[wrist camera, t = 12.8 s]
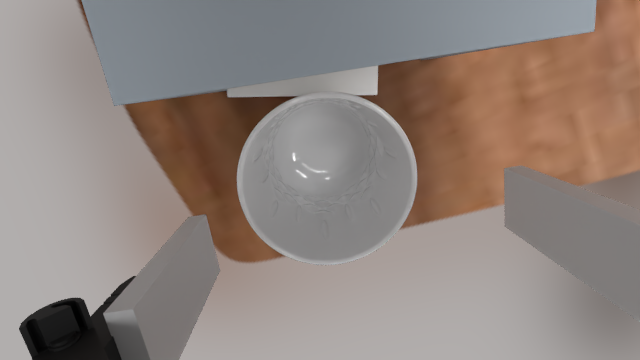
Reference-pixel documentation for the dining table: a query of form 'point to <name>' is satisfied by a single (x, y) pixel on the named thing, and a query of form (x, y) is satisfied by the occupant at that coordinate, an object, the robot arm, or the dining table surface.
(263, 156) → the white cup
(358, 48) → the bridge
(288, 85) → the white l-shaped block
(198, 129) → the dining table surface
